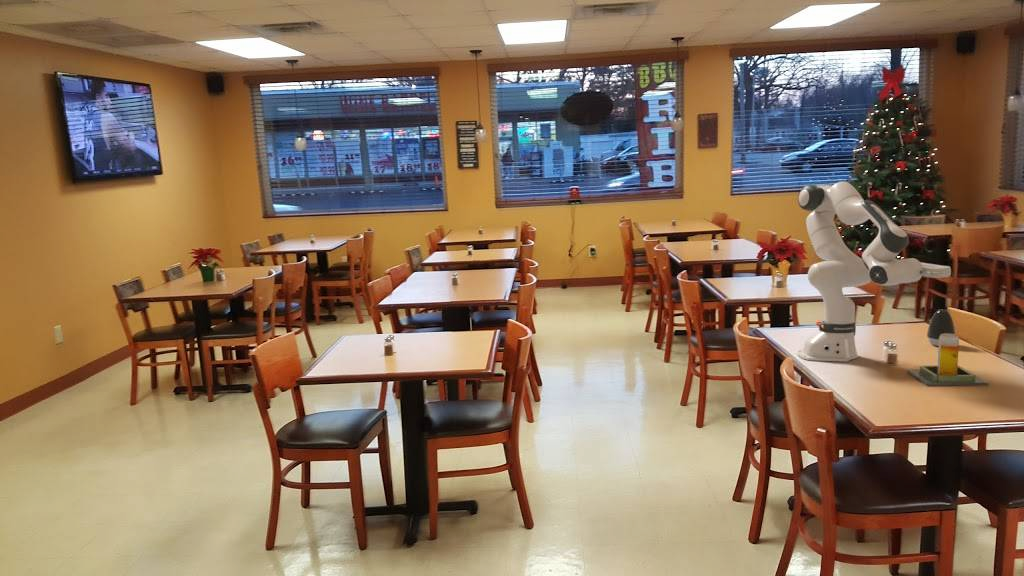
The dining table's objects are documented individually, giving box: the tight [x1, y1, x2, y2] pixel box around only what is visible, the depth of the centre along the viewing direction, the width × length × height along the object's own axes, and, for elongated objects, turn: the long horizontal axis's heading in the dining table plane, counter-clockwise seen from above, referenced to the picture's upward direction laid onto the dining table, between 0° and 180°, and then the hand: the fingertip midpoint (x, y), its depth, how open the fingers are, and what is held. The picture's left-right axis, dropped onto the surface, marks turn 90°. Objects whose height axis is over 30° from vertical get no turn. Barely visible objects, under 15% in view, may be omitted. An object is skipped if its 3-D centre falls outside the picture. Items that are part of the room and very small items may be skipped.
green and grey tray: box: [907, 365, 989, 387], centre depth 261 cm, size 20×16×3 cm
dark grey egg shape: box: [926, 308, 956, 347], centre depth 304 cm, size 10×10×15 cm
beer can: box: [937, 333, 960, 375], centre depth 259 cm, size 6×6×15 cm
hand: (936, 266), depth 274 cm, fingers open, 8 cm apart
